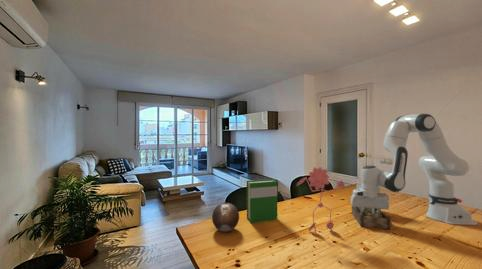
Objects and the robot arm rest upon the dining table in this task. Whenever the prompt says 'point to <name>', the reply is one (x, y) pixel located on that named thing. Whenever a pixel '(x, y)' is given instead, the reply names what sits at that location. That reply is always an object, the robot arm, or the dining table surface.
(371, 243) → the dining table surface
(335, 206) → the dining table surface
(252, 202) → the hardback book
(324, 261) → the dining table surface
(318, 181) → the figurine
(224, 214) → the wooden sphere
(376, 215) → the birch crate
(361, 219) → the walnut crate
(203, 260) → the dining table surface
